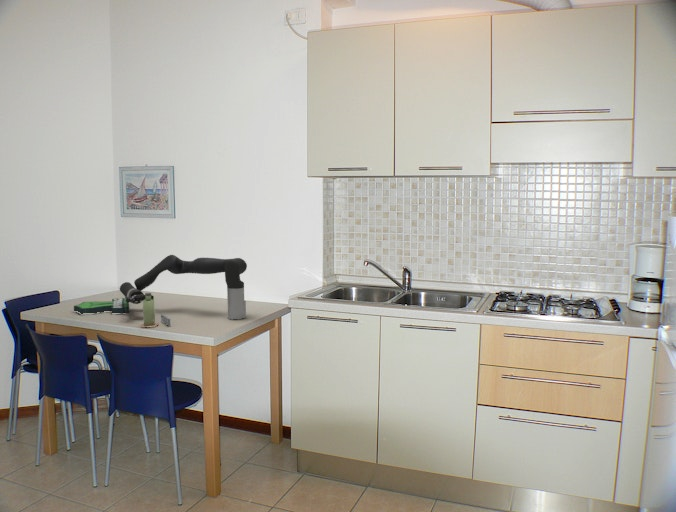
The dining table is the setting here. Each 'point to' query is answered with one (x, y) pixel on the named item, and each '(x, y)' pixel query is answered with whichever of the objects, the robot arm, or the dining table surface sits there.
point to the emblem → (103, 306)
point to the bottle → (148, 311)
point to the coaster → (149, 326)
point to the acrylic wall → (165, 319)
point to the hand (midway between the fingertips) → (142, 301)
